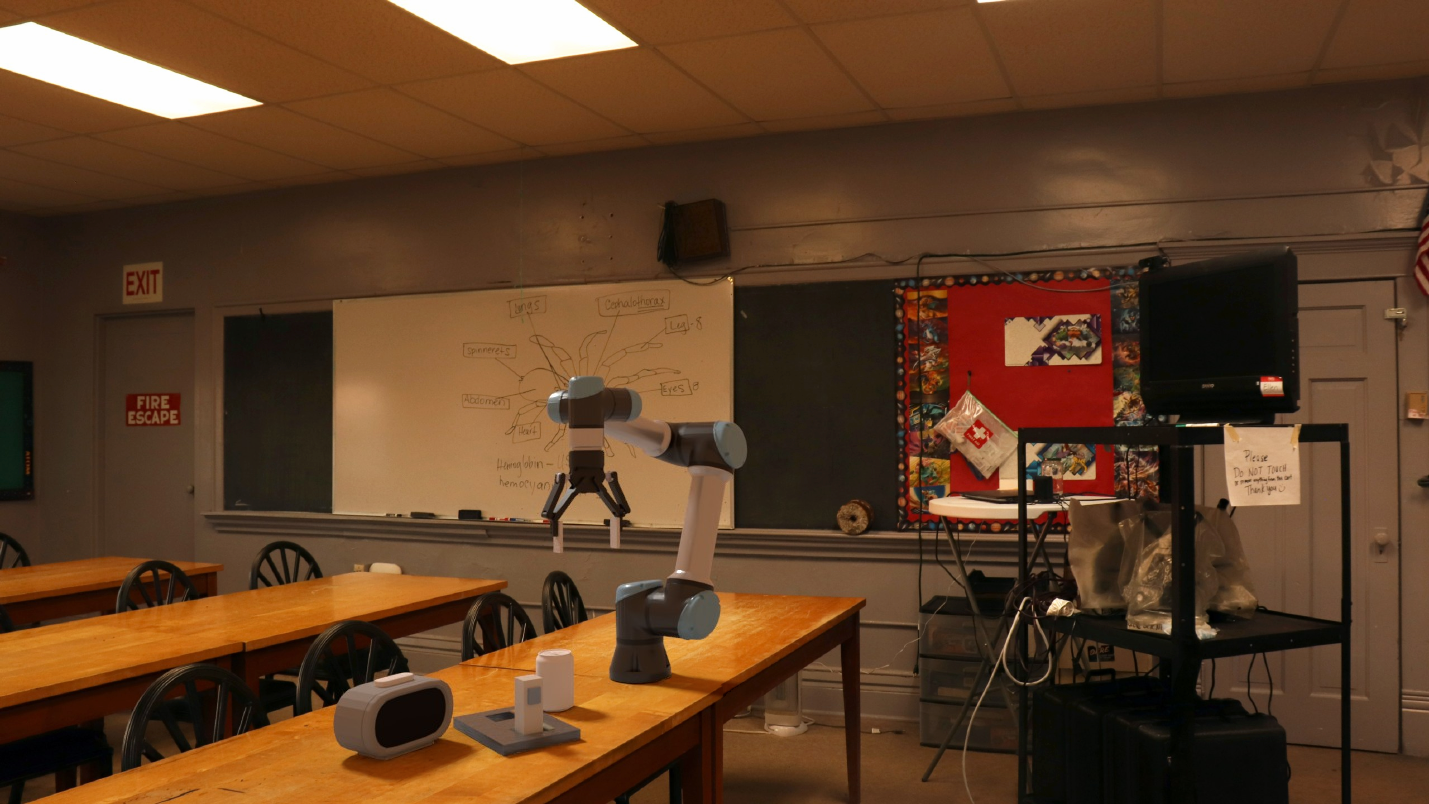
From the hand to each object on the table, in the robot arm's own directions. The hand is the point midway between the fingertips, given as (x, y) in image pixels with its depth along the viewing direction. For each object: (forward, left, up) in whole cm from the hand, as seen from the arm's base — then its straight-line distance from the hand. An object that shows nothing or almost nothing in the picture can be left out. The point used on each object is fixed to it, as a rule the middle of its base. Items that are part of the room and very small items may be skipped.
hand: (587, 550), depth 208 cm
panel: (+17, +1, -35) cm, 39 cm away
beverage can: (+2, -11, -35) cm, 37 cm away
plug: (+17, +7, -35) cm, 39 cm away
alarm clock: (+39, -4, -35) cm, 53 cm away
